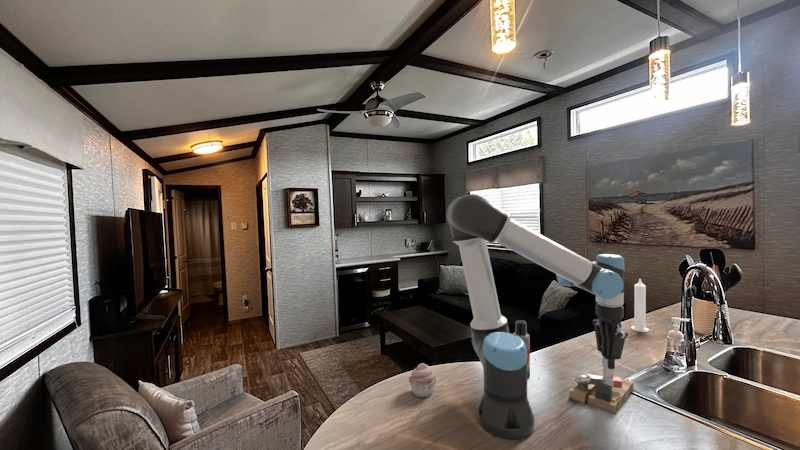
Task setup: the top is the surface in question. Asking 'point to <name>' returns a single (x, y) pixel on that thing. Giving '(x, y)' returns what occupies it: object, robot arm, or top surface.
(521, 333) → the lotion bottle
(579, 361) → the top surface
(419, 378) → the cupcake
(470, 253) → the robot arm
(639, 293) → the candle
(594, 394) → the door boards
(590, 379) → the latch arm
